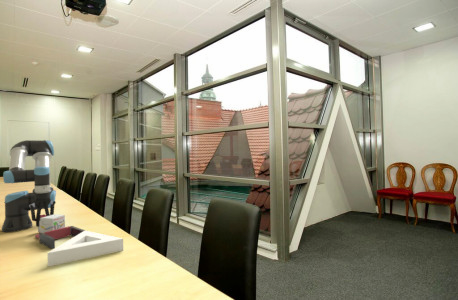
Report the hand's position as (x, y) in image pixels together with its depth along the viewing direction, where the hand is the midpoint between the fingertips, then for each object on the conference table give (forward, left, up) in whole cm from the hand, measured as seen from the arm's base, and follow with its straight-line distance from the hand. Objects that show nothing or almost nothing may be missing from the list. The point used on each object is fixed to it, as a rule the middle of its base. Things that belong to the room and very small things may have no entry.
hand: (43, 230), depth 154 cm
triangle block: (+50, +2, -2) cm, 50 cm away
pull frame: (+9, 0, -1) cm, 9 cm away
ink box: (+15, 0, -1) cm, 15 cm away
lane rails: (+28, 0, -1) cm, 28 cm away
